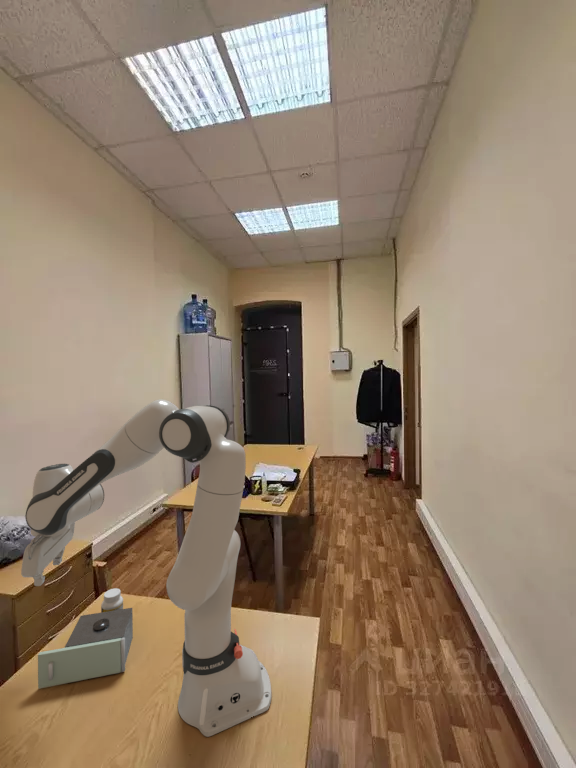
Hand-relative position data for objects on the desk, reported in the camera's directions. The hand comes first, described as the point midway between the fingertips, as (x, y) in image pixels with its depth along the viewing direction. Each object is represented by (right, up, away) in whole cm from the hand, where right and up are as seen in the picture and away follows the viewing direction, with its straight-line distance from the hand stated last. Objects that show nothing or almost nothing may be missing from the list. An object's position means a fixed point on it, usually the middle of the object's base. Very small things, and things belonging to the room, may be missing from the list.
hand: (48, 573), depth 92 cm
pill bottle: (+10, -25, +14) cm, 31 cm away
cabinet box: (+13, -25, +3) cm, 28 cm away
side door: (+12, -25, -5) cm, 28 cm away
